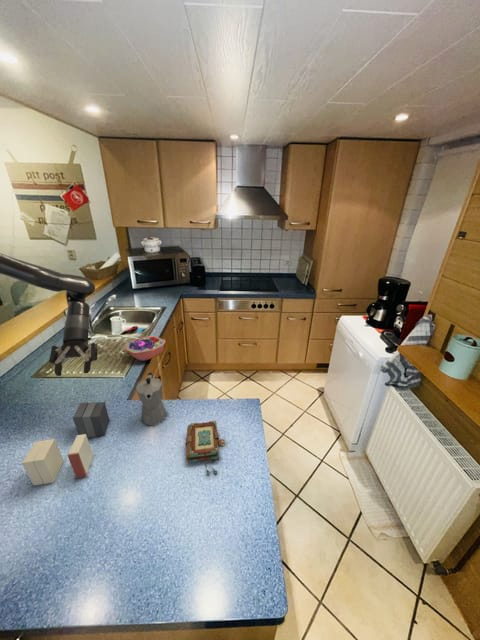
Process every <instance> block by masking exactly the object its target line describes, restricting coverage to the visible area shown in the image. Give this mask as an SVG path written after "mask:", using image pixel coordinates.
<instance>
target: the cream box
mask: <svg viewBox="0 0 480 640" xmlns="http://www.w3.org/2000/svg"><path fill="white" fill-rule="evenodd" d="M21 464H22V466H23V468H24V469H25V473H26V474H27V476H28V477H29V479H30V481H31V483H32V485H33V486H41V485H46V484H52V483H55V481H56V479H57V478H58V475H59V472H60V470H61V469H62V465H63V464H64V457H63V455H62V453H61V450H60V448H59V445H58V443H57V441H56V438H50V439H45V440H38V441H34V443H33V445H32V446H31V448H30V449H29V451H28V452H27V454H26V455H25V458H24V459H23V461H22V462H21Z"/></svg>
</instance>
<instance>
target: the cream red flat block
mask: <svg viewBox="0 0 480 640" xmlns="http://www.w3.org/2000/svg"><path fill="white" fill-rule="evenodd" d="M67 458H68V460H69V463H70V465H71V468H72V471H73V473H74V475H75V478H76V479H81V478H86V477H87V476H88V472H89V470H90V466H91V464H92V461H93V458H94V453H93V450H92V448H91V445H90V442H89V439H88V438H87V435H86V434H83V435H79V434H77V435H76V436H75V439H74V440H73V443H72V445H71V447H70V450H69V452H68V455H67Z"/></svg>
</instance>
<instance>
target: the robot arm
mask: <svg viewBox="0 0 480 640" xmlns="http://www.w3.org/2000/svg"><path fill="white" fill-rule="evenodd" d="M0 275H3V276H6V277H9V278H12V279H15V280H17V281H20V282H23V283H25V284H27V285H29V286H30V285H31V286H34V287H37V288H41V289H44V290H48V291H52V292H56V293H60V292H64V291H65V299H66V304H67V309H66V318H65V322H64V328H63V338H62V345H61V346H60V345H59V346H57V345H52V346H51V348H50V353H49V354H50V355H49V359H48V362H49V363H50V364H53V365H54V372H53V374H54V375H55V376H56V377H61V376H62V374H63V364H64V363H65V362H66V361H67V360H69V359H74V358H80V357H82V358H83V360H84V362H83V363H84V364H83V374H89V372H90V371H91V367H92V366H91V365H92V362H95V361H98V344H96V343H95V342H92V343H89V335H90V334H89V332H90V312H91V311H90V310H91V308H90V305H89V303H87V302H86V298H88V297H89V296H91V295H93V294H94V293H95V291H96V285H95V283H94V282H93V281H92V280H90V279H89V278H87V277H84V276H81V275H76V274H75V275H74V274H70V273H69V274H68V273H61V272H59V271H56V270H54V269H50V268H47V267H44V266H41V265H37V264H33V263H30V262H27V261H24V260H20V259H17V258H16V257H15V258H14V257H12V256H10V255H7V254H4V253H1V252H0ZM88 349H89V350H90V356H89V355H88V352H87V351H88Z"/></svg>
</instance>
